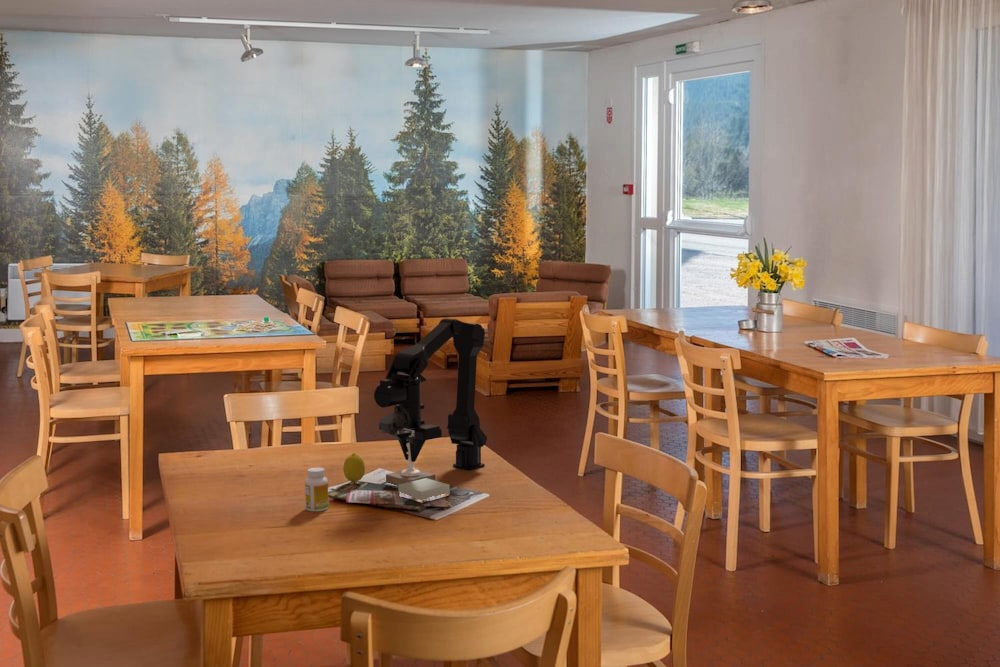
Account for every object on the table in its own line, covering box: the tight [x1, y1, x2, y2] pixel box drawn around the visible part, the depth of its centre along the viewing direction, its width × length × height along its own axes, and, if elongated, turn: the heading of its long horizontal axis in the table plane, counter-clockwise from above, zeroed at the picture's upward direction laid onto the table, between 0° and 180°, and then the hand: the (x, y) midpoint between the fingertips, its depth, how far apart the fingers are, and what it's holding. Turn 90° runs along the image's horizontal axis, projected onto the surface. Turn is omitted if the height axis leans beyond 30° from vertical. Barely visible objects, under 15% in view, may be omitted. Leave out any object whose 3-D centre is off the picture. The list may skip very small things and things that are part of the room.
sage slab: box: [397, 478, 451, 500], centre depth 275 cm, size 9×9×3 cm
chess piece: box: [401, 440, 420, 477], centre depth 284 cm, size 5×5×10 cm
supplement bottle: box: [304, 467, 329, 513], centre depth 264 cm, size 5×5×10 cm
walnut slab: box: [385, 468, 436, 486], centre depth 285 cm, size 9×9×3 cm
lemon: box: [342, 453, 366, 483], centre depth 287 cm, size 6×6×8 cm
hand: (410, 460), depth 284 cm, fingers closed on chess piece, 2 cm apart
